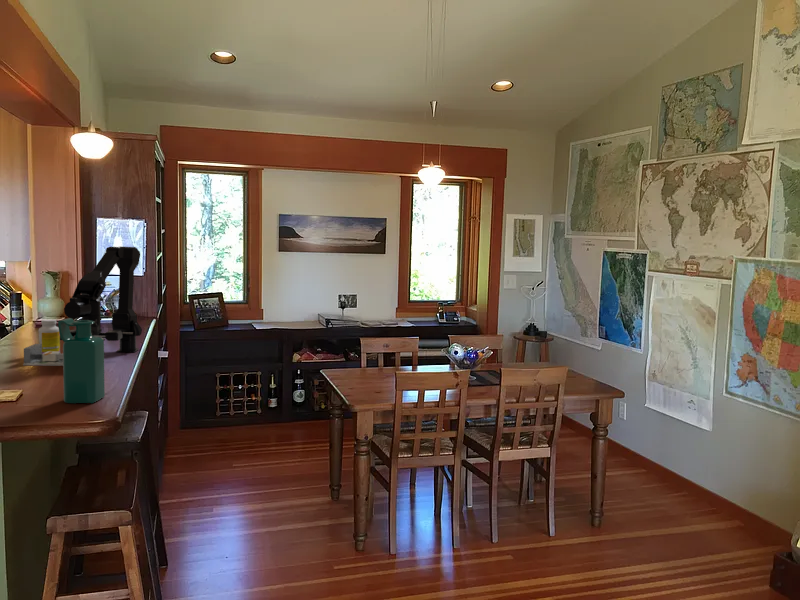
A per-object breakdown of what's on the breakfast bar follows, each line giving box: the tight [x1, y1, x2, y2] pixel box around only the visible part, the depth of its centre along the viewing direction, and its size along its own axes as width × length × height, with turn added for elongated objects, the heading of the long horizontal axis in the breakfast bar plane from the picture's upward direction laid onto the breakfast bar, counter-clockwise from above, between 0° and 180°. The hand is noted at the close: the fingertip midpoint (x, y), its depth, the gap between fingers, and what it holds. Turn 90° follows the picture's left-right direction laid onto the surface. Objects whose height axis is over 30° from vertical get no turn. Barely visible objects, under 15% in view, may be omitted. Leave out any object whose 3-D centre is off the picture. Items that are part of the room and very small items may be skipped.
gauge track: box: [22, 343, 63, 367], centre depth 212 cm, size 10×14×6 cm
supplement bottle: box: [38, 319, 61, 354], centre depth 223 cm, size 7×7×13 cm
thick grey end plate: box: [42, 351, 63, 361], centre depth 212 cm, size 8×13×3 cm, turn 98°
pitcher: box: [57, 317, 106, 404], centre depth 168 cm, size 10×8×22 cm
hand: (91, 359), depth 214 cm, fingers closed
